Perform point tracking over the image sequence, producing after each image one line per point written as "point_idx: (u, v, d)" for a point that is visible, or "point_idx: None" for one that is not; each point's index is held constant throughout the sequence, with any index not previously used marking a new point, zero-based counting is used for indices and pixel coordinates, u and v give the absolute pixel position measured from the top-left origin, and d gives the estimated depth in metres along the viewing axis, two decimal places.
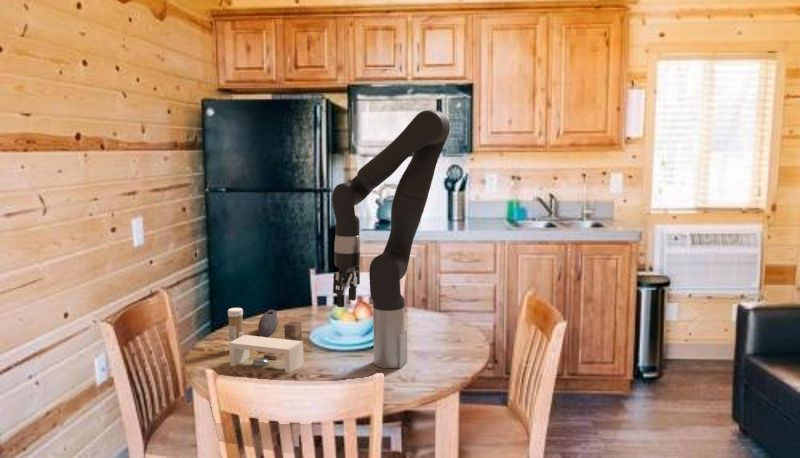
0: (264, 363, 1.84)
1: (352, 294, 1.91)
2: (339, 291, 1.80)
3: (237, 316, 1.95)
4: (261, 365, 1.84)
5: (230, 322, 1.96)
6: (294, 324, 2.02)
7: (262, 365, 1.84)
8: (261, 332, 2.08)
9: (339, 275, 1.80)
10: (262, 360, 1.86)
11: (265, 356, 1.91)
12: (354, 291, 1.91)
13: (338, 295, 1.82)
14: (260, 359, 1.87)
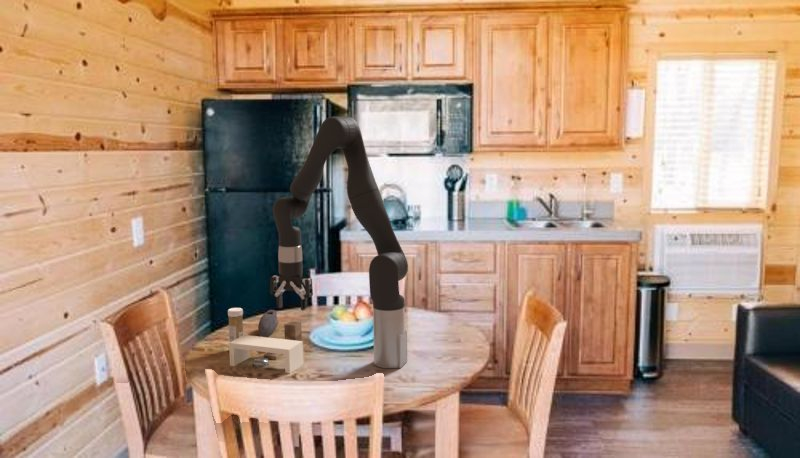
0: (264, 363, 1.84)
1: (281, 301, 2.04)
2: (311, 293, 2.00)
3: (237, 316, 1.95)
4: (261, 365, 1.84)
5: (230, 322, 1.96)
6: (294, 324, 2.02)
7: (262, 365, 1.84)
8: (261, 332, 2.08)
9: (310, 279, 2.00)
10: (262, 360, 1.86)
11: (265, 356, 1.91)
12: (281, 298, 2.04)
13: (306, 299, 2.00)
14: (260, 359, 1.87)
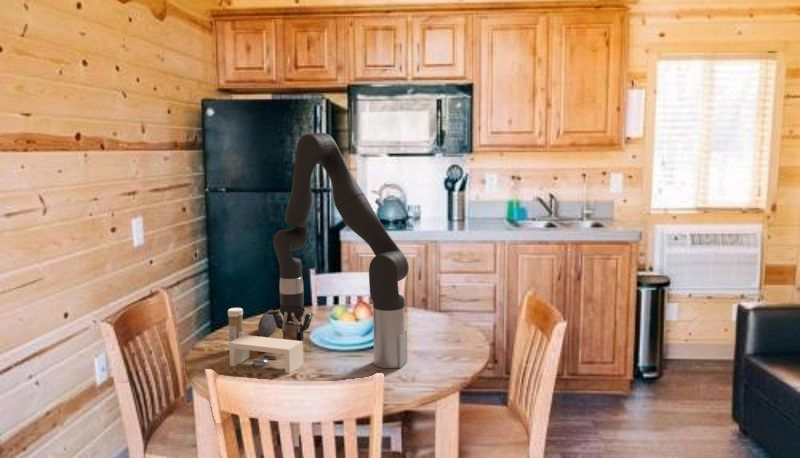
0: (264, 363, 1.84)
1: None
2: (307, 326, 2.03)
3: (237, 316, 1.95)
4: (261, 365, 1.84)
5: (230, 322, 1.96)
6: None
7: (262, 365, 1.84)
8: (261, 332, 2.08)
9: (311, 314, 2.01)
10: (262, 360, 1.86)
11: (265, 356, 1.91)
12: None
13: (302, 332, 2.02)
14: (260, 359, 1.87)
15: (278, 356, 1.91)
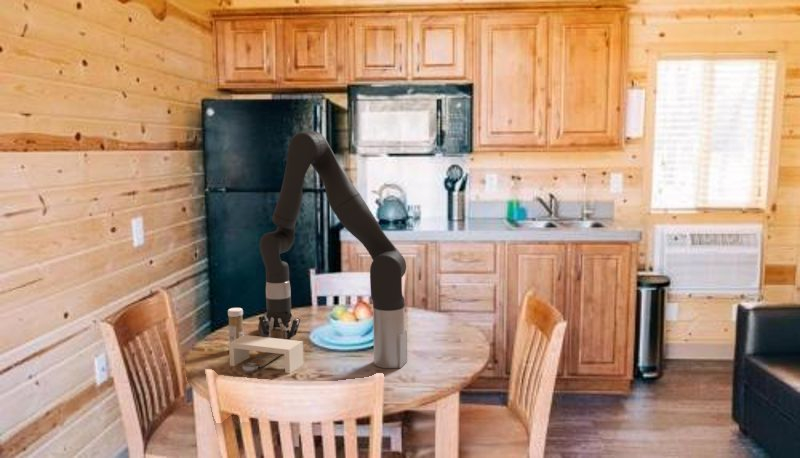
0: (253, 369, 1.79)
1: None
2: (294, 332, 1.95)
3: (237, 316, 1.95)
4: (250, 370, 1.79)
5: (230, 322, 1.96)
6: None
7: (251, 370, 1.79)
8: (261, 332, 2.08)
9: (299, 320, 1.94)
10: (252, 365, 1.81)
11: None
12: None
13: (289, 338, 1.95)
14: (250, 364, 1.82)
15: (263, 364, 1.84)
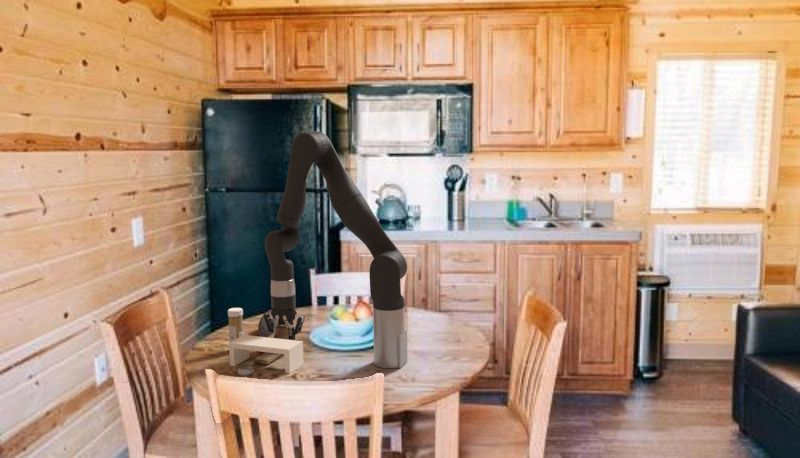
0: (249, 372, 1.77)
1: None
2: (299, 329, 1.98)
3: (237, 316, 1.95)
4: (245, 374, 1.77)
5: (230, 322, 1.96)
6: None
7: (246, 374, 1.77)
8: (261, 332, 2.08)
9: (303, 317, 1.97)
10: (247, 369, 1.79)
11: (256, 360, 1.86)
12: None
13: (294, 335, 1.98)
14: (245, 368, 1.80)
15: (270, 360, 1.86)
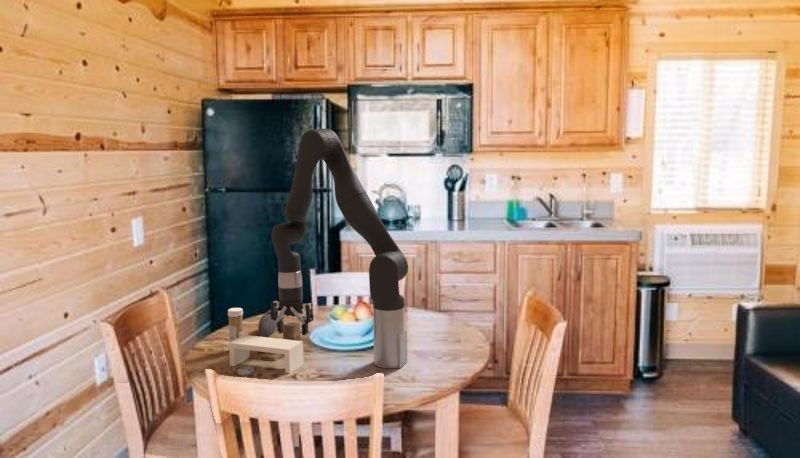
0: (249, 372, 1.77)
1: (282, 327, 2.04)
2: (312, 318, 2.00)
3: (237, 316, 1.95)
4: (245, 374, 1.77)
5: (230, 322, 1.96)
6: (293, 325, 2.01)
7: (246, 374, 1.77)
8: (261, 332, 2.08)
9: (311, 304, 2.00)
10: (247, 369, 1.79)
11: (263, 357, 1.90)
12: (283, 323, 2.05)
13: (306, 324, 2.00)
14: (245, 368, 1.80)
15: (276, 357, 1.90)
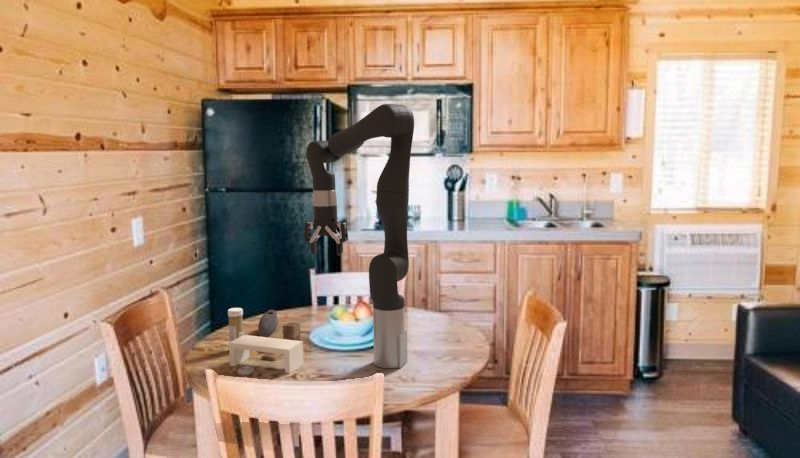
0: (249, 372, 1.77)
1: (315, 248, 2.02)
2: (347, 238, 1.99)
3: (237, 316, 1.95)
4: (245, 374, 1.77)
5: (230, 322, 1.96)
6: (293, 325, 2.01)
7: (246, 374, 1.77)
8: (261, 332, 2.08)
9: (346, 223, 1.98)
10: (247, 369, 1.79)
11: (263, 357, 1.90)
12: (316, 245, 2.03)
13: (341, 243, 1.99)
14: (245, 368, 1.80)
15: (276, 357, 1.90)
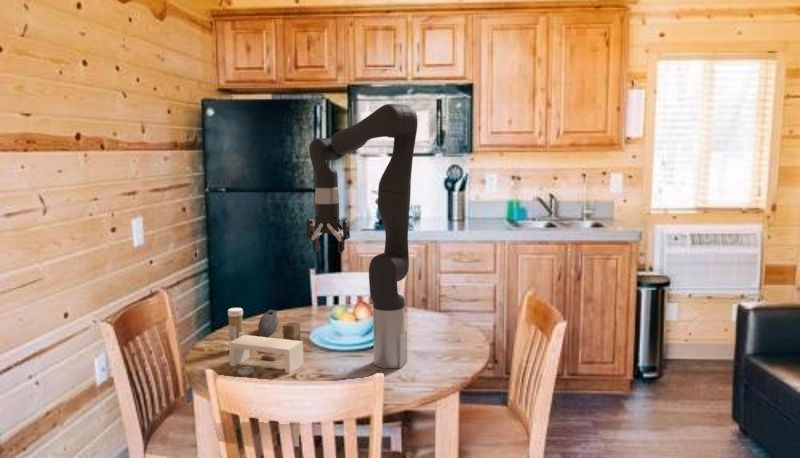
0: (249, 372, 1.77)
1: (317, 245, 2.02)
2: (348, 235, 1.99)
3: (237, 316, 1.95)
4: (245, 374, 1.77)
5: (230, 322, 1.96)
6: (293, 325, 2.01)
7: (246, 374, 1.77)
8: (261, 332, 2.08)
9: (348, 221, 1.98)
10: (247, 369, 1.79)
11: (263, 357, 1.90)
12: (318, 242, 2.03)
13: (343, 241, 1.99)
14: (245, 368, 1.80)
15: (276, 357, 1.90)
